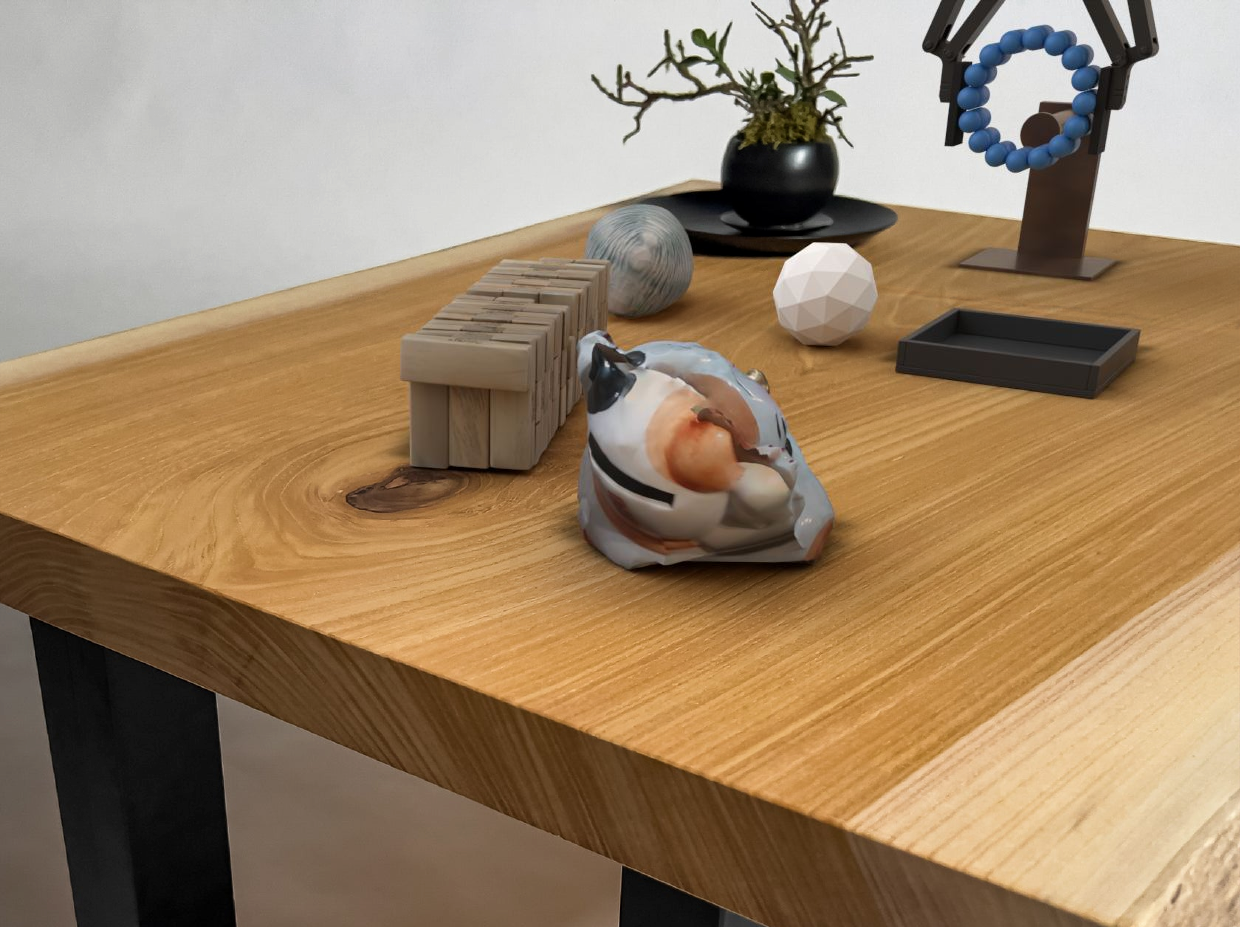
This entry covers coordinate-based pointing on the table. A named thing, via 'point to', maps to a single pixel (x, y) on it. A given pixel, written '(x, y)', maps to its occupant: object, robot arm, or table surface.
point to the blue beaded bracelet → (987, 73)
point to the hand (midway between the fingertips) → (1023, 149)
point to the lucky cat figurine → (691, 461)
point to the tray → (1019, 352)
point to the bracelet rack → (1052, 209)
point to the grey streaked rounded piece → (642, 259)
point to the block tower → (502, 363)
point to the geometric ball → (825, 294)
